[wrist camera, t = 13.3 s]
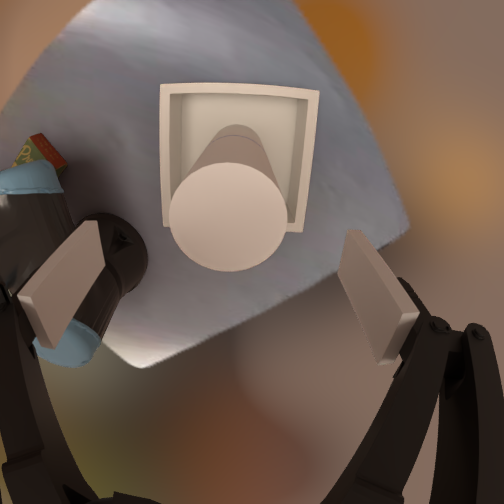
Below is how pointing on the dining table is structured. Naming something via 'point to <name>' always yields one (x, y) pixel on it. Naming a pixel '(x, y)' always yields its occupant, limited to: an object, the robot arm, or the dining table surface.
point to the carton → (40, 153)
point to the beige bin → (243, 113)
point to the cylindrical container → (229, 204)
